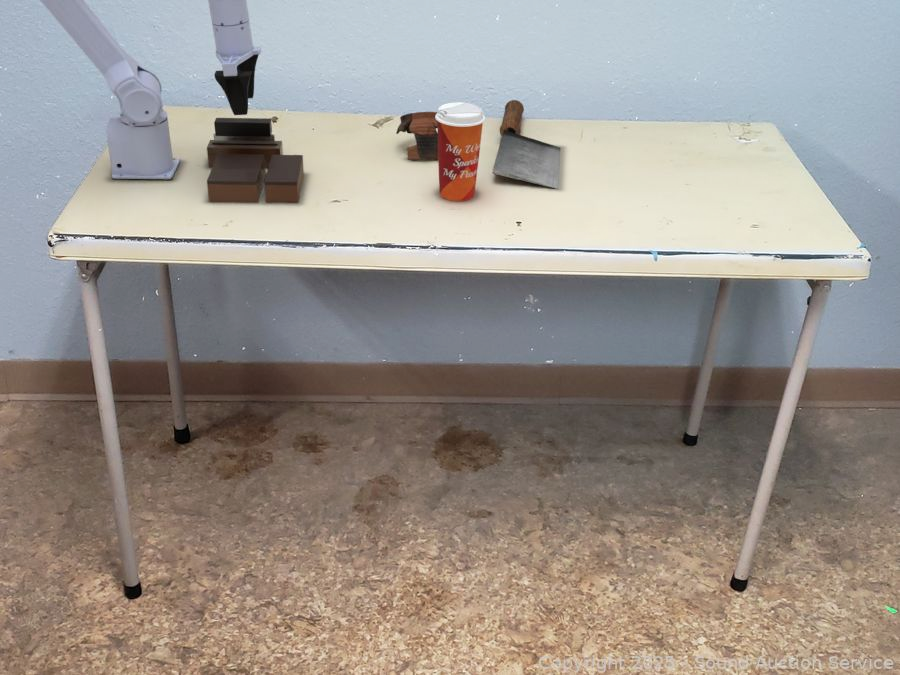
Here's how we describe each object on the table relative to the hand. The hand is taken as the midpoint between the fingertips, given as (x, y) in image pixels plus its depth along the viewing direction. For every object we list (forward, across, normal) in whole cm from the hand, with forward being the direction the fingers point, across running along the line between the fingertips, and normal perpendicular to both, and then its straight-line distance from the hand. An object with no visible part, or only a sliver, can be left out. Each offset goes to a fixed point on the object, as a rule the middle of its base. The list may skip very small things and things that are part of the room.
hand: (243, 105), depth 155 cm
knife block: (+10, 0, +1) cm, 10 cm away
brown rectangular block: (+10, -10, -6) cm, 16 cm away
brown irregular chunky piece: (+12, +6, -30) cm, 33 cm away
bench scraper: (+10, 0, +1) cm, 10 cm away
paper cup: (+12, -12, -34) cm, 38 cm away
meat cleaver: (+14, +8, -48) cm, 50 cm away
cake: (+10, -10, +1) cm, 14 cm away
